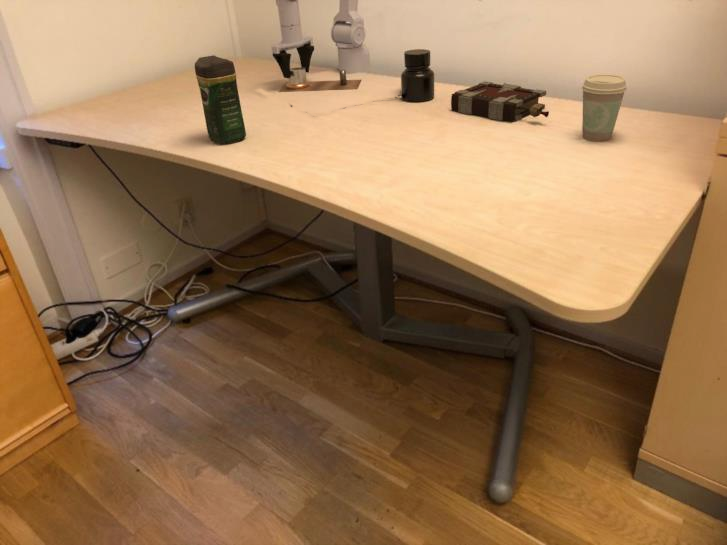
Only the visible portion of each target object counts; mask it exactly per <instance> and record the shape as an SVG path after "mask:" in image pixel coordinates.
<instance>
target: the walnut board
mask: <svg viewBox="0 0 727 545" xmlns="http://www.w3.org/2000/svg"><path fill="white" fill-rule="evenodd" d="M288 82H289V81H287V82H285V83H284V84H283V86H281V88H280V89H279V90H278V91H277V92H278V93H290V92H291V93H293V92H296V93H297V92H317V91H318V92H319V91H348V90H352V91H353V90H358V89H359V87H360V84H361V82H362V79H346V82H347V85H344V86H341V84H340V79H339V80H318V81H316V80H314V81H309V87H307V88H303V89H296V90H292V89H287V88H286V83H288Z"/></svg>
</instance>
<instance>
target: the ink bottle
mask: <svg viewBox="0 0 727 545" xmlns="http://www.w3.org/2000/svg"><path fill="white" fill-rule="evenodd" d="M403 56H404V57H403V58H404V67H405V68H404V70H403V71H402V72H401V74H400V89H401V94H400V95H401V100H403V101H406V102H409V103H410V102H412V103H419V102H420V103H421V102H427V101H428V102H429V101H431V100H432V99H434V98H435V72H434V71H433V70H432V69H431V50H429V49H424V48H423V49H422V48H421V49H420V48H419V49H417V48H416V49H410V50H405V51H404V53H403Z"/></svg>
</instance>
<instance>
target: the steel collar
mask: <svg viewBox="0 0 727 545" xmlns="http://www.w3.org/2000/svg"><path fill="white" fill-rule="evenodd" d="M293 69H299V70H293ZM290 73H291V77H290V78H288V82H289V84H290V85H302V84H306V83H307V81H308V80H307V72H306V70H305V68H304V67H301V66H295V67H290Z"/></svg>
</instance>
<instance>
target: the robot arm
mask: <svg viewBox="0 0 727 545" xmlns="http://www.w3.org/2000/svg"><path fill="white" fill-rule="evenodd" d="M358 3H359V0H339V3H338V4H339V9H338V10H339V11H338V13H336V14H335V16H334V17H333V22H332V26H331V29H330V37H331V40H332V42H334V43H335V47H337V59H338V70H339V71H340V70H346V75H353V74H357V73H362V72H366V71H371V59H370V58H371V55H370V49H369V47H368V46H367V45H366V43H365V44H364V42H365V39H366V29H365V24H364V23H365V19H364V18H362V16H361V15H360V14H359V12H358V9H359V7H358V6H359V5H358ZM275 4H276V6H277V9H278V17H279V18H278V19H279V27H280V34H281V41H280V42H279V43H277V44H274V45H271V52H272V57H273V58H274V60H275V61H276V63H277V64H278V66H279V68H280V70H281V74H282V77H283V78H284V79H289V78H290V77H291V73H290V68H291V58H292V54H291V53H288V52H287V51H290V50H291V51H292V50H294V49H296V51H297V54H298V56H299V63H300V67H304V68H305V70H306V73H309V72H310V66H311V60H312V55H313V53H314V51H315V46H314V38H313V36H305V37H303V33H302V24H301V14H300V6H299V0H275Z"/></svg>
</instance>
